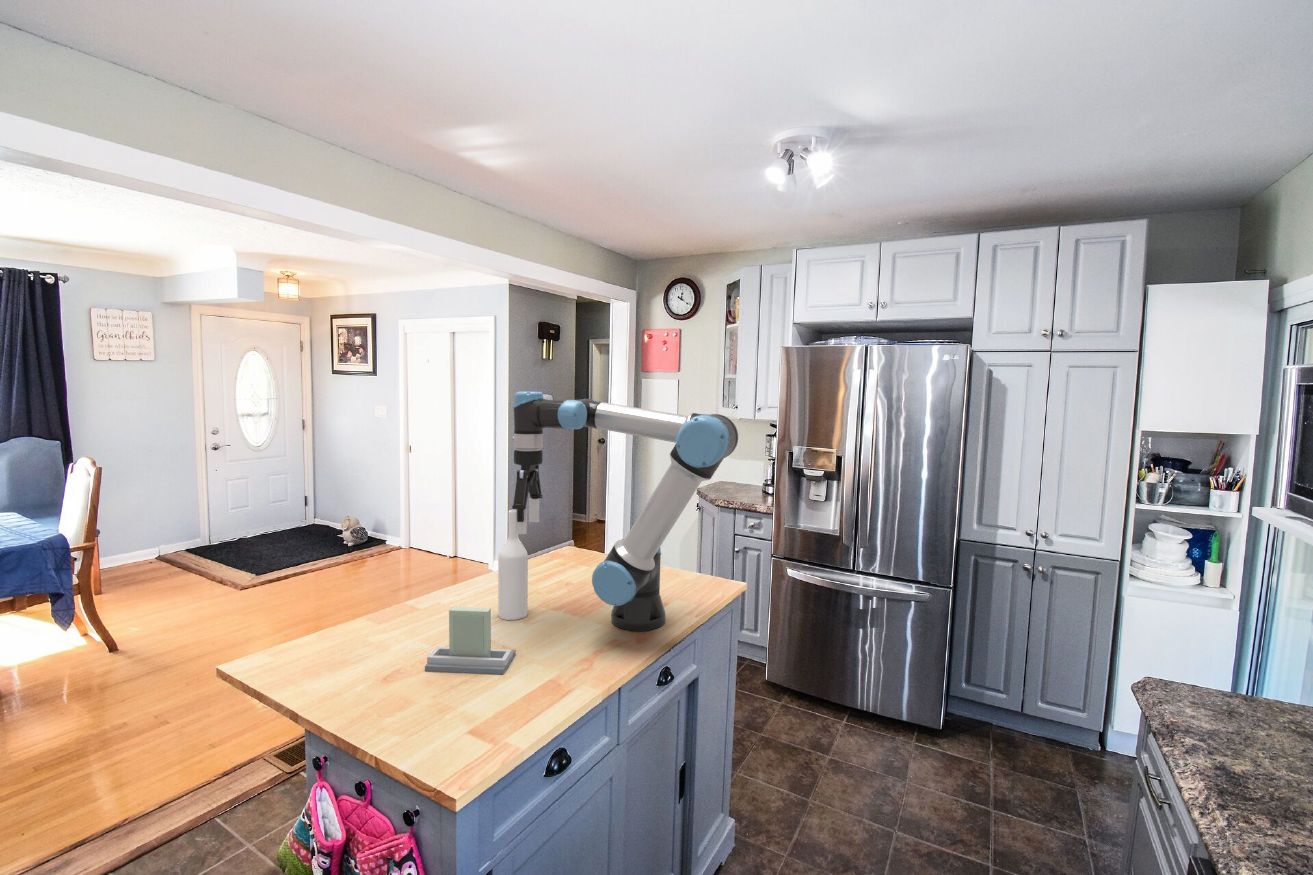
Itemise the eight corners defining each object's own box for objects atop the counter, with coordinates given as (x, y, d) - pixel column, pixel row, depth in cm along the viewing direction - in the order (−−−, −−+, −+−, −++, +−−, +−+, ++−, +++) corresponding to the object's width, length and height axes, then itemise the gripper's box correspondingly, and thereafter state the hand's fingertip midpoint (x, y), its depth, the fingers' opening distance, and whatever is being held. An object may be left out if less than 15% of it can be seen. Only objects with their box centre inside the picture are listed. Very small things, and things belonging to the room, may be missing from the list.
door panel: (490, 657, 140) (490, 608, 139) (487, 662, 138) (487, 612, 137) (452, 656, 141) (452, 606, 140) (448, 661, 138) (448, 610, 137)
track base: (515, 654, 145) (515, 643, 145) (503, 674, 135) (503, 662, 135) (442, 651, 146) (442, 640, 145) (424, 670, 136) (424, 659, 136)
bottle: (506, 622, 164) (506, 514, 162) (493, 613, 170) (493, 509, 168) (532, 615, 169) (533, 511, 167) (519, 607, 175) (519, 506, 173)
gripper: (526, 444, 172) (526, 516, 174) (500, 454, 148) (500, 538, 149) (552, 445, 172) (551, 517, 174) (530, 455, 147) (530, 539, 149)
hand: (528, 527), depth 162 cm, fingers open, 13 cm apart
